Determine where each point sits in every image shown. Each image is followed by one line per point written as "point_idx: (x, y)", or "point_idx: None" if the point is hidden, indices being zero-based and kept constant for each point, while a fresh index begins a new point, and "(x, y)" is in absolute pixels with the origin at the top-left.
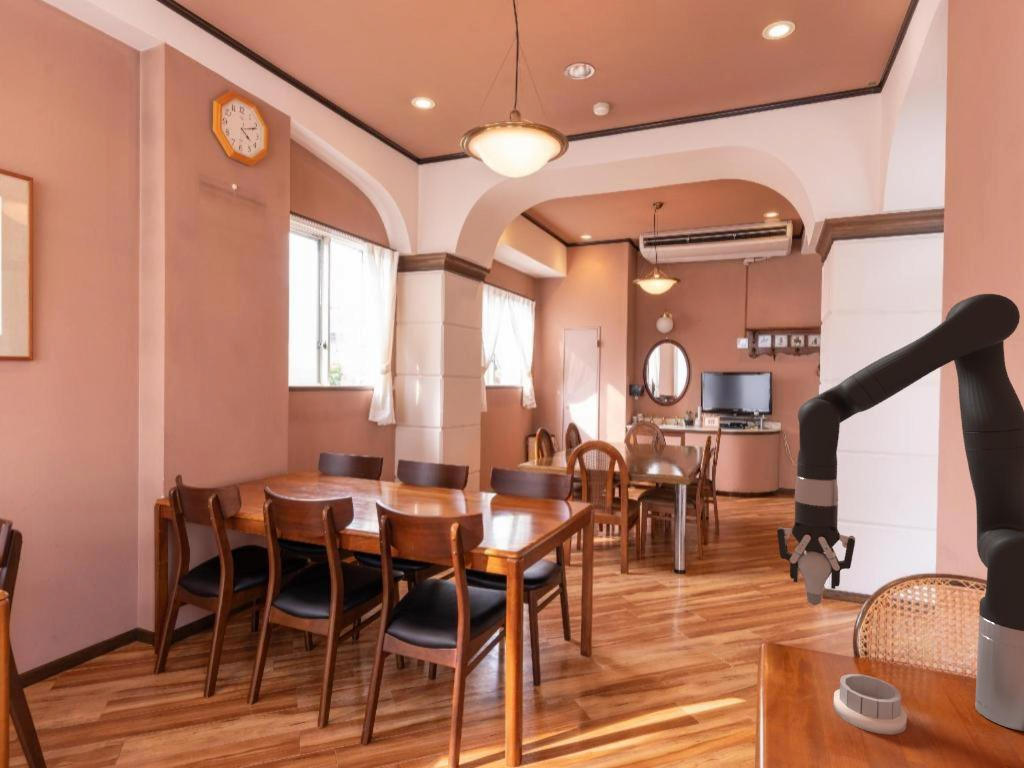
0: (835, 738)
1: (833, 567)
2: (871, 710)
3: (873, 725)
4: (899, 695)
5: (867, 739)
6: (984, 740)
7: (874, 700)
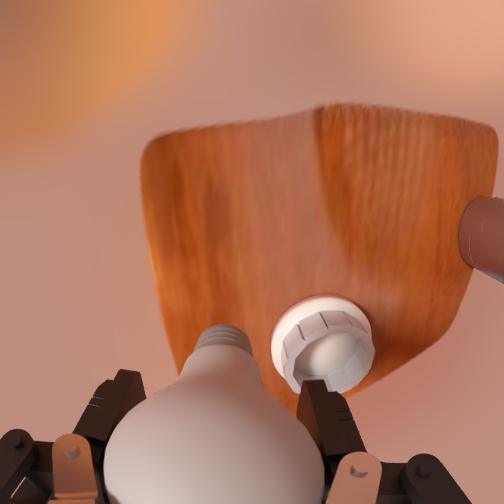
0: None
1: (322, 502)
2: None
3: None
4: (370, 363)
5: None
6: (438, 312)
7: None
